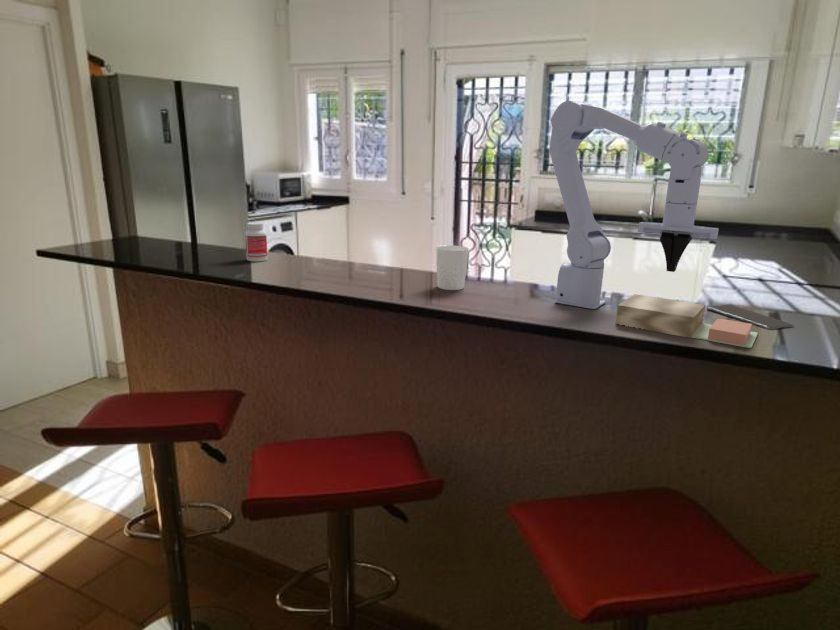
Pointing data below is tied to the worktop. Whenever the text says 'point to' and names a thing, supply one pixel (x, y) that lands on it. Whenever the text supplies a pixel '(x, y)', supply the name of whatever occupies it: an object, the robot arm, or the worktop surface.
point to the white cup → (451, 267)
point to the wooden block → (660, 315)
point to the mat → (703, 334)
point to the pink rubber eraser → (730, 331)
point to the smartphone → (749, 316)
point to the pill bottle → (256, 242)
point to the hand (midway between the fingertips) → (671, 270)
